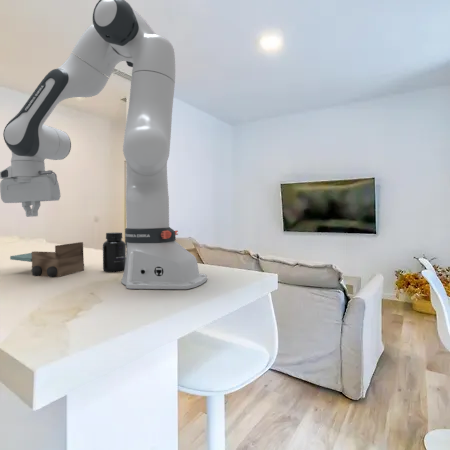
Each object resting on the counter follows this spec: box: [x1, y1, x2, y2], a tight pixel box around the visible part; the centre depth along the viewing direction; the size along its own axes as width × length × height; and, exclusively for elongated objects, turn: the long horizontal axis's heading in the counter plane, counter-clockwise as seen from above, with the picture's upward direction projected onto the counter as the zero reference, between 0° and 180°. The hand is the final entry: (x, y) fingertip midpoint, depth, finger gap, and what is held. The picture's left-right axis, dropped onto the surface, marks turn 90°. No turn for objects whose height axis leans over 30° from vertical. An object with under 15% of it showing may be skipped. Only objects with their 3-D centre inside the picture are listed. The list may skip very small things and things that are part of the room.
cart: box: [31, 241, 85, 278], centre depth 95 cm, size 10×12×9 cm
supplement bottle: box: [102, 232, 127, 273], centre depth 97 cm, size 7×7×12 cm
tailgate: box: [9, 252, 32, 263], centre depth 97 cm, size 2×10×8 cm
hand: (32, 216), depth 97 cm, fingers closed
